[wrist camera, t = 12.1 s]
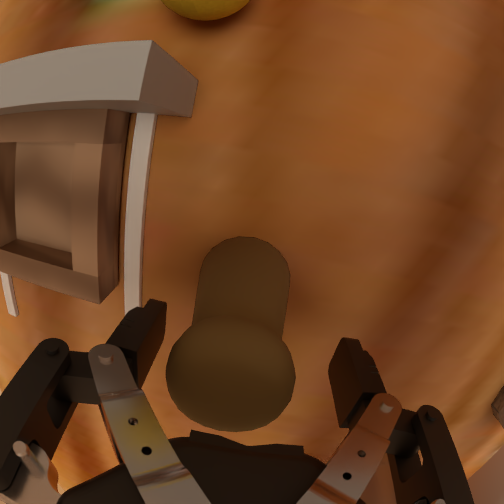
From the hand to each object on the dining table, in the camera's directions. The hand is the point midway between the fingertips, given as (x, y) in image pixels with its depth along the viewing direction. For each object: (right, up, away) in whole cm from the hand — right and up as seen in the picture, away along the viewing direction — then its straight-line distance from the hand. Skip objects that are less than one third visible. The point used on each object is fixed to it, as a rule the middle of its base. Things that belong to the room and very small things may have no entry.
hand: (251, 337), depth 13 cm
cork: (0, +2, +7) cm, 8 cm away
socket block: (-14, +8, +5) cm, 17 cm away
